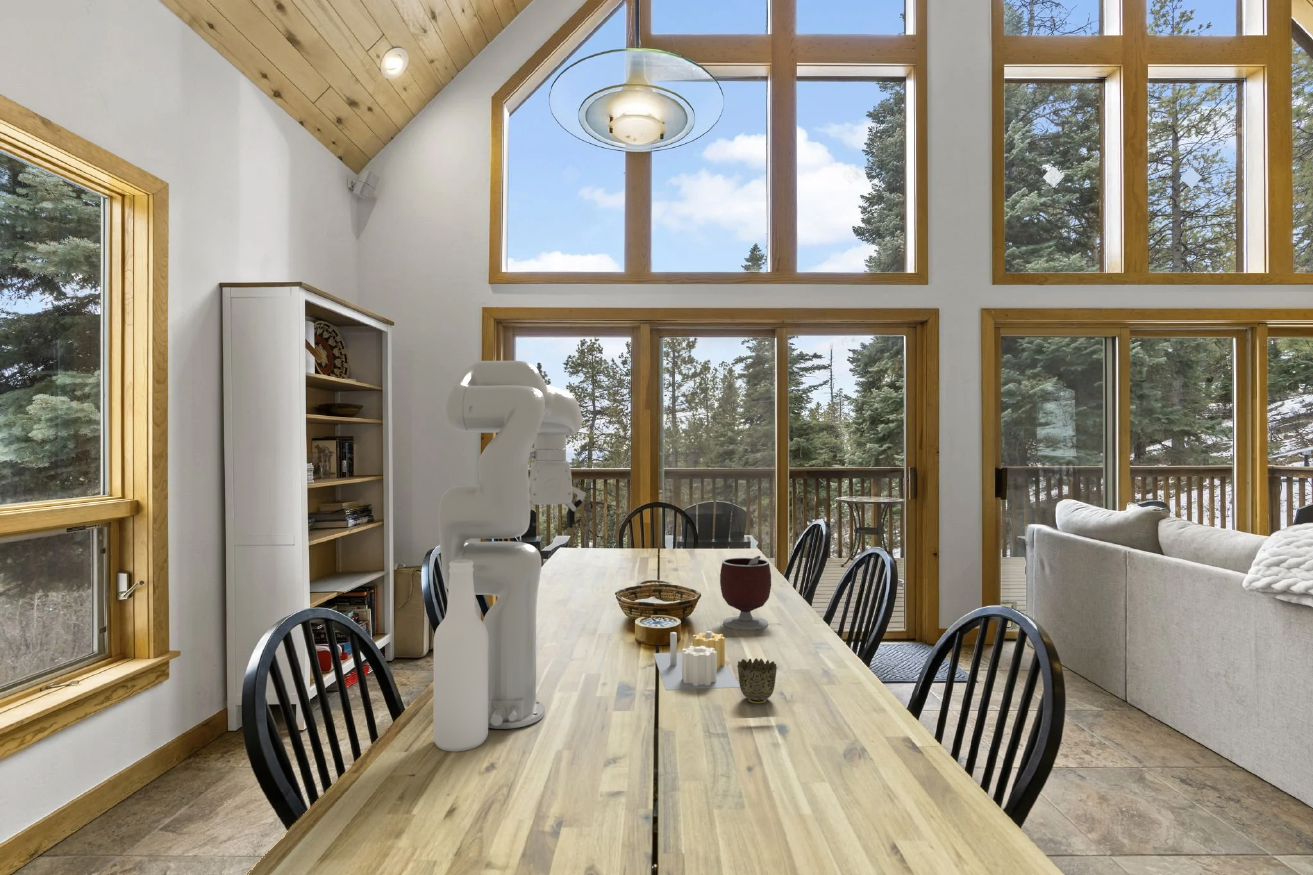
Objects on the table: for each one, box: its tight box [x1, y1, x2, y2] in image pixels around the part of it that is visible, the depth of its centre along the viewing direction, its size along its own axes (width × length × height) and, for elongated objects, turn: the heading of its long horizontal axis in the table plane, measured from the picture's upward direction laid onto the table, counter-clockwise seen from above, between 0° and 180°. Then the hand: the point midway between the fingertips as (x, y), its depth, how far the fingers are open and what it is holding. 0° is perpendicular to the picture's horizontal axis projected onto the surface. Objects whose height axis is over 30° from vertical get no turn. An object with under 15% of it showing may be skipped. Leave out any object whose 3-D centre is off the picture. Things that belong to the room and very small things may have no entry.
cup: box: [736, 657, 778, 704], centre depth 133 cm, size 8×7×8 cm
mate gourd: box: [719, 555, 772, 631], centre depth 192 cm, size 16×14×20 cm
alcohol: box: [432, 560, 489, 753], centre depth 117 cm, size 9×9×30 cm
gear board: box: [653, 630, 740, 691], centre depth 151 cm, size 24×15×8 cm, turn 6°
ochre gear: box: [692, 631, 726, 669], centre depth 154 cm, size 7×7×6 cm
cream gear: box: [681, 645, 717, 686], centre depth 144 cm, size 7×7×6 cm
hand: (549, 528), depth 169 cm, fingers open, 9 cm apart
